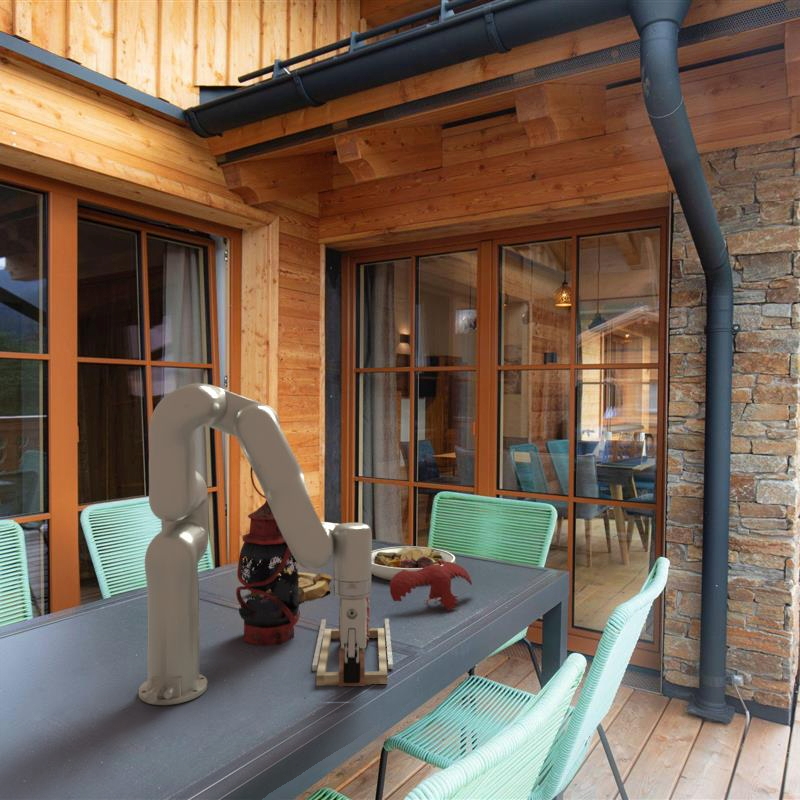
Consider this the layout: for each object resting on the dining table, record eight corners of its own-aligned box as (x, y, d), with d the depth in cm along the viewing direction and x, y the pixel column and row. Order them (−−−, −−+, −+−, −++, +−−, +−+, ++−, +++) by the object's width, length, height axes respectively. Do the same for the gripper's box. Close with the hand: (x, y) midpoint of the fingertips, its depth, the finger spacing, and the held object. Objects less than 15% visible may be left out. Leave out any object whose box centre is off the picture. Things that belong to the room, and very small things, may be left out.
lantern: (313, 633, 158) (314, 447, 158) (272, 654, 145) (273, 451, 145) (264, 622, 166) (265, 444, 165) (221, 640, 153) (222, 448, 153)
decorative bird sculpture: (478, 612, 187) (455, 566, 196) (495, 596, 182) (471, 549, 190) (399, 633, 171) (377, 581, 179) (415, 616, 165) (391, 564, 173)
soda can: (365, 652, 147) (365, 599, 146) (335, 649, 148) (335, 597, 148) (372, 640, 154) (373, 589, 153) (343, 638, 155) (343, 588, 155)
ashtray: (234, 590, 193) (234, 573, 193) (302, 576, 209) (302, 560, 209) (276, 610, 176) (276, 592, 176) (347, 593, 192) (347, 576, 191)
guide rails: (392, 670, 137) (392, 664, 137) (312, 671, 136) (312, 665, 136) (388, 624, 165) (388, 618, 165) (321, 624, 164) (321, 619, 164)
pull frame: (387, 686, 129) (387, 650, 129) (316, 687, 128) (316, 651, 128) (383, 636, 156) (384, 607, 156) (325, 637, 155) (325, 607, 155)
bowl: (351, 565, 223) (351, 542, 223) (429, 557, 235) (429, 535, 235) (385, 589, 196) (385, 563, 195) (472, 578, 208) (472, 553, 208)
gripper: (371, 598, 122) (371, 696, 122) (371, 574, 139) (370, 661, 139) (331, 599, 122) (330, 697, 122) (335, 575, 138) (335, 661, 138)
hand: (352, 677), depth 130 cm, fingers closed on pull frame, 3 cm apart
